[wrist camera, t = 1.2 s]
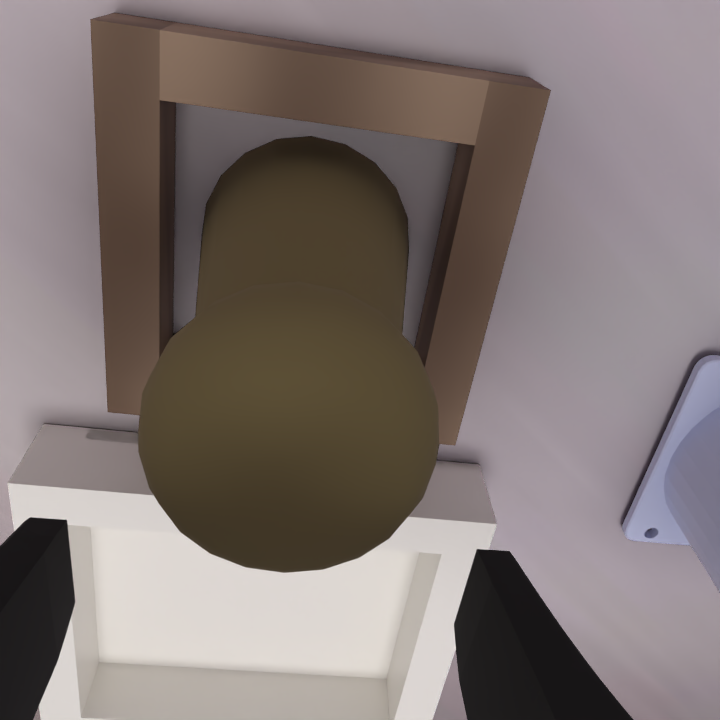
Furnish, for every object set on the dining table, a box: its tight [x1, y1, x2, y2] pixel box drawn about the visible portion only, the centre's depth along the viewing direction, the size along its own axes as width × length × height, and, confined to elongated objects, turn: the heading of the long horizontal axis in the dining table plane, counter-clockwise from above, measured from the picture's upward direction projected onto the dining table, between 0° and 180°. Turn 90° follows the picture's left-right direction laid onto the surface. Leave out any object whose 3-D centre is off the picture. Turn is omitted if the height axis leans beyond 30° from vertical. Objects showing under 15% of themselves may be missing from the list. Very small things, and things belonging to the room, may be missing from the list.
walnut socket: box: [90, 13, 551, 445], centre depth 19 cm, size 11×11×2 cm
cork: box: [138, 136, 439, 573], centre depth 15 cm, size 6×6×11 cm
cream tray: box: [8, 424, 497, 720], centre depth 26 cm, size 15×13×3 cm
